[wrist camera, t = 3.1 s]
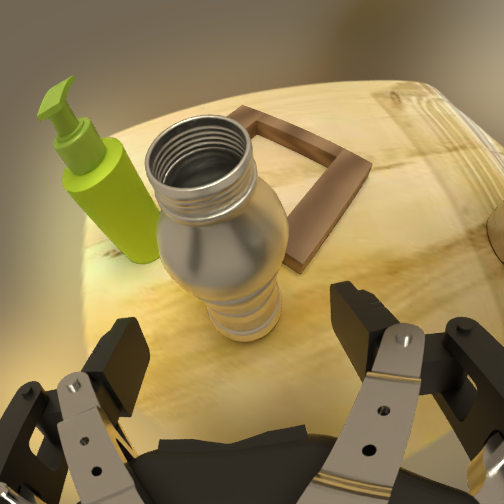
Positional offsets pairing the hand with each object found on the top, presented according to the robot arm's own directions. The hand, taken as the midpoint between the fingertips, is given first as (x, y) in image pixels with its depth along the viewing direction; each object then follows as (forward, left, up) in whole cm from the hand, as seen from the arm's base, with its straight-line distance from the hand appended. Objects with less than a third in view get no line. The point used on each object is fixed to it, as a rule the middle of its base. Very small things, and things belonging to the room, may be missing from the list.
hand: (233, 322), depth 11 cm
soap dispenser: (+18, -3, -15) cm, 23 cm away
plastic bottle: (+3, -3, -15) cm, 16 cm away
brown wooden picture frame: (+11, -17, -15) cm, 25 cm away
